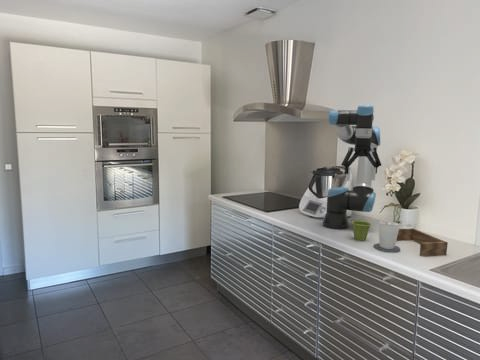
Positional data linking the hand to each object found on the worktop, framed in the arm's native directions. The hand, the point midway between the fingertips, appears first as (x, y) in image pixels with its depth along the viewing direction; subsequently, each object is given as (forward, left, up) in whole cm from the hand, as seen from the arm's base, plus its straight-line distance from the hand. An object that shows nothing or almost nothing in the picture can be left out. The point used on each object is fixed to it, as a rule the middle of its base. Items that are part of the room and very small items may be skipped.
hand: (360, 180), depth 176 cm
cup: (+4, +14, -32) cm, 35 cm away
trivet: (+4, +14, -32) cm, 35 cm away
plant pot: (-7, +2, -32) cm, 33 cm away
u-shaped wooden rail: (-4, +29, -32) cm, 43 cm away
